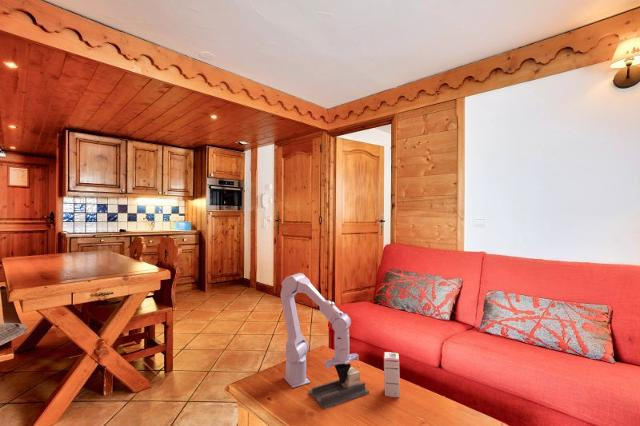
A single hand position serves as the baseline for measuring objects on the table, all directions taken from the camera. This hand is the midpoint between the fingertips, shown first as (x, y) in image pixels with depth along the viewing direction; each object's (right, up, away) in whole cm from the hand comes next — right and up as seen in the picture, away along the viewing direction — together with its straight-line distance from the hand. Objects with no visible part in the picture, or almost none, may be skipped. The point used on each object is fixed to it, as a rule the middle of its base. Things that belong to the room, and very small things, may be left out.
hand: (342, 382), depth 122 cm
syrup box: (+19, -4, -1) cm, 20 cm away
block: (+4, -3, +2) cm, 5 cm away
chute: (-1, -4, -1) cm, 4 cm away
